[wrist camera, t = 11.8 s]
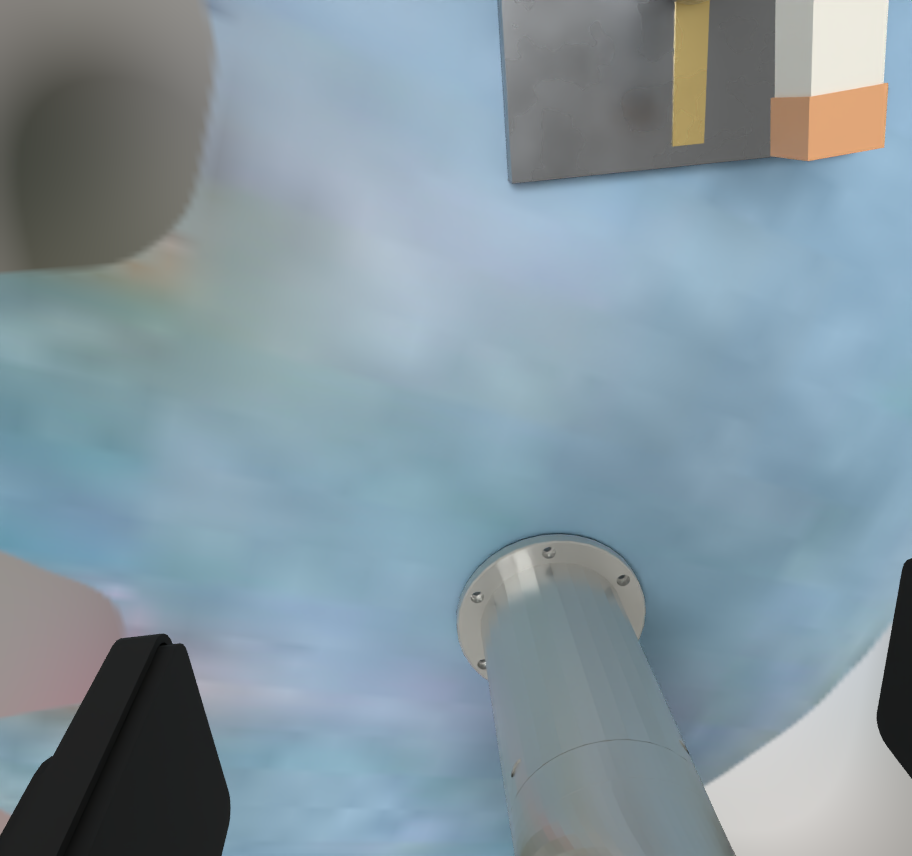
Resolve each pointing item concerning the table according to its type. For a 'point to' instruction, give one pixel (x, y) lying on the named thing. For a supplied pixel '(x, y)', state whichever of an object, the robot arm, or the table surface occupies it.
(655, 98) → the post base
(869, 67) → the t handle
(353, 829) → the table surface
